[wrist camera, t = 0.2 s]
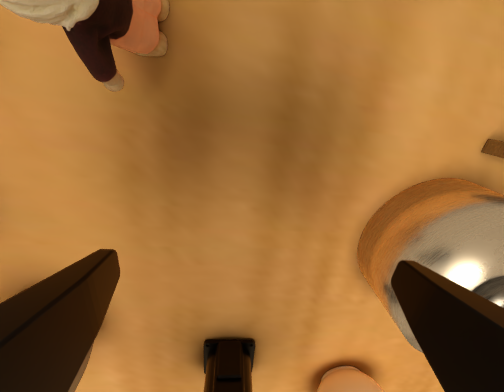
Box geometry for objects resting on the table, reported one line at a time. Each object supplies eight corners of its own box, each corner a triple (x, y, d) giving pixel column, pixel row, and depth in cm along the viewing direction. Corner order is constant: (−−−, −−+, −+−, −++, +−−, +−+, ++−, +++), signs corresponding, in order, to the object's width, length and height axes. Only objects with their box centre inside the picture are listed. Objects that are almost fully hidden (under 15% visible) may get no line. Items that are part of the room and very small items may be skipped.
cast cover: (457, 292, 31) (541, 370, 22) (343, 291, 29) (386, 374, 21) (520, 181, 24) (668, 231, 16) (378, 173, 23) (460, 224, 15)
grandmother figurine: (109, -44, 15) (-258, -415, 4) (170, -38, 16) (-5, -367, 4) (128, 88, 19) (-45, 94, 7) (179, 91, 19) (91, 100, 7)
